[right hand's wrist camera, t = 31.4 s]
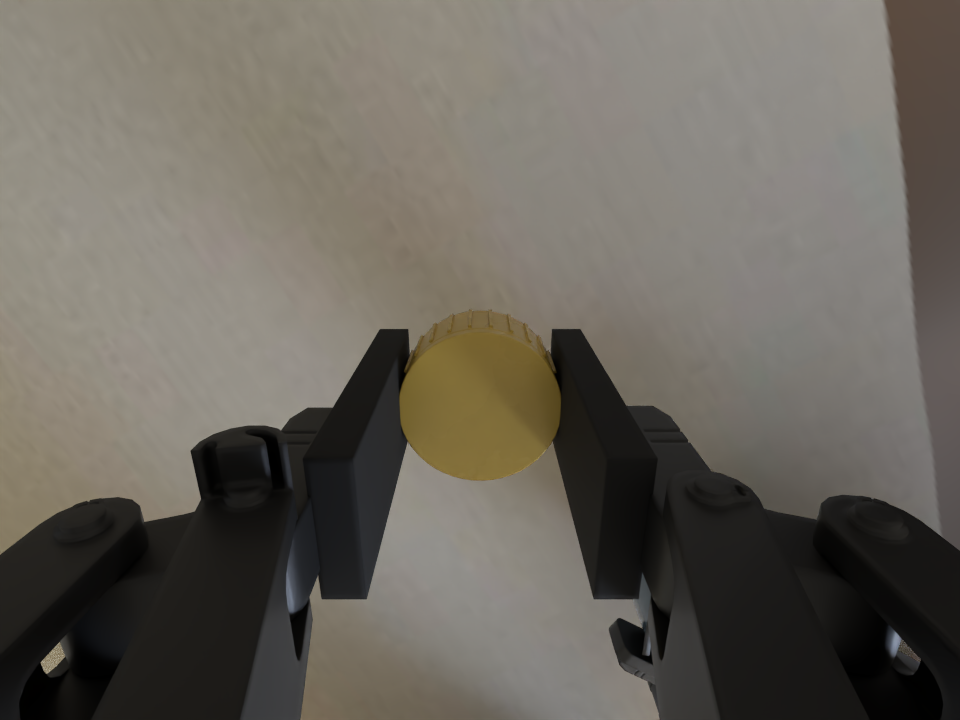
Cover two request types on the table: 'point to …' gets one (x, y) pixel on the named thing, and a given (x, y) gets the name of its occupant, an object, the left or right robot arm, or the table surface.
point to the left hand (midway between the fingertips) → (651, 602)
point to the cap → (480, 396)
